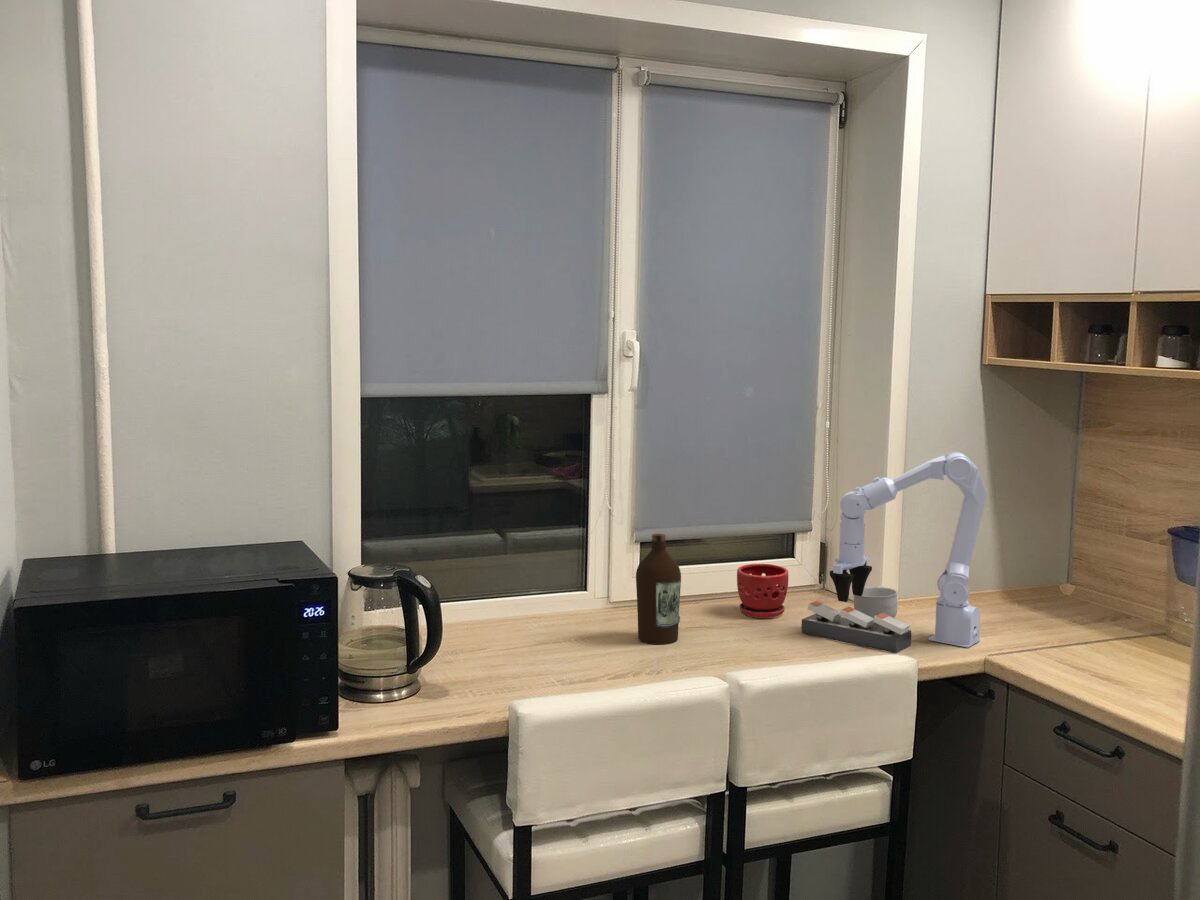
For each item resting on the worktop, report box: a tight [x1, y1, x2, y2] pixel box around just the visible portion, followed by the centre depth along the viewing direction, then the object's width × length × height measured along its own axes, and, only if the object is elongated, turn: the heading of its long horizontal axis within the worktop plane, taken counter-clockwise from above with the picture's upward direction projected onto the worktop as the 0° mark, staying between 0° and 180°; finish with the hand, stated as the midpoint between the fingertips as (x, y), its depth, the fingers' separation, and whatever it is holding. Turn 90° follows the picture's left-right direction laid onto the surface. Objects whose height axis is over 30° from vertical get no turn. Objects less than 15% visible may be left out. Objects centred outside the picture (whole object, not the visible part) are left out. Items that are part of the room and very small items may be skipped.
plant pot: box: [736, 563, 789, 619], centre depth 260 cm, size 13×13×12 cm
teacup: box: [853, 585, 899, 624], centre depth 255 cm, size 14×11×8 cm
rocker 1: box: [807, 600, 842, 621], centre depth 244 cm, size 7×4×2 cm, turn 50°
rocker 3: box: [873, 613, 910, 635], centre depth 233 cm, size 7×4×2 cm, turn 50°
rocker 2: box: [839, 606, 874, 628], centre depth 238 cm, size 7×4×2 cm, turn 50°
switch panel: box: [801, 613, 912, 654], centre depth 239 cm, size 24×8×5 cm, turn 49°
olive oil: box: [635, 533, 682, 645], centre depth 238 cm, size 11×11×25 cm
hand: (850, 598), depth 243 cm, fingers open, 7 cm apart
